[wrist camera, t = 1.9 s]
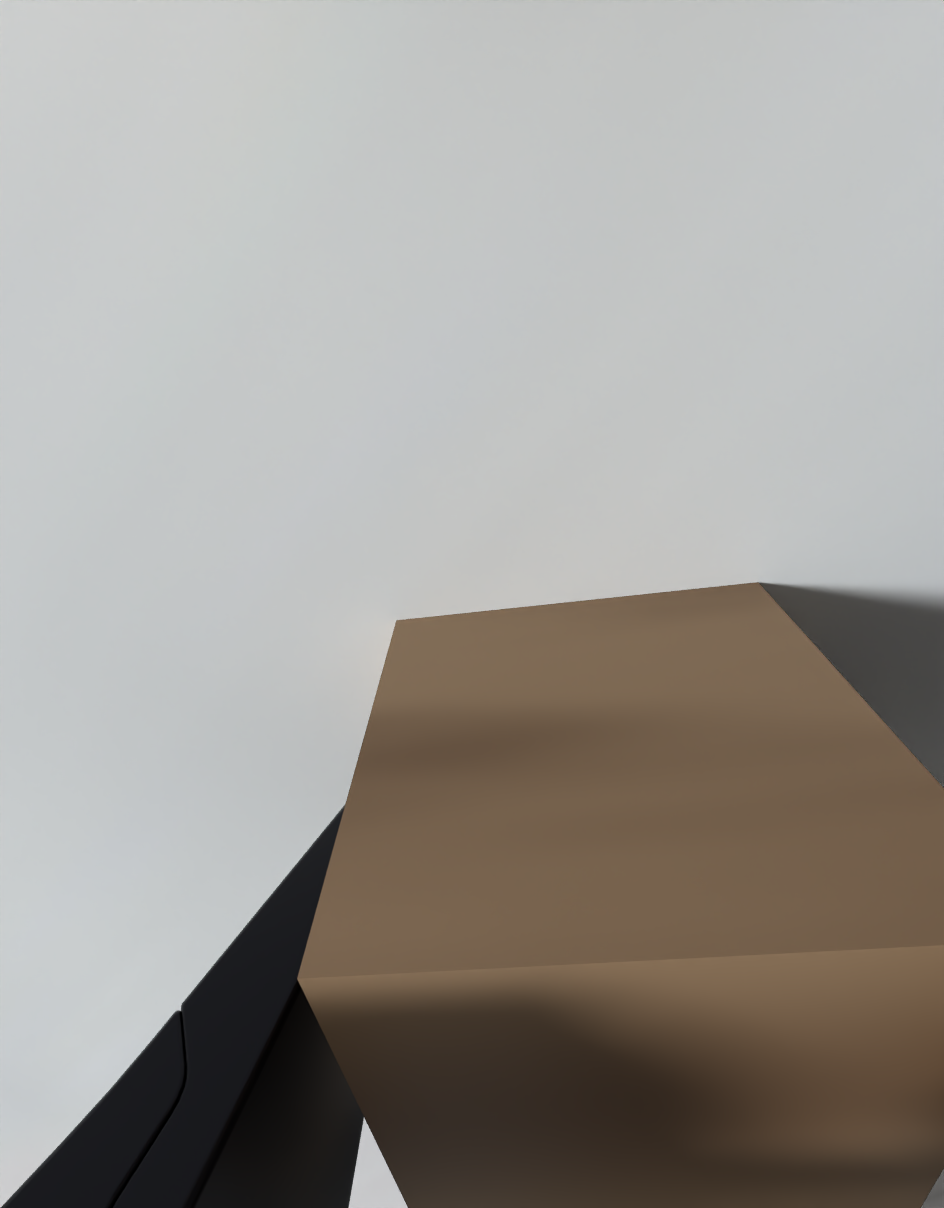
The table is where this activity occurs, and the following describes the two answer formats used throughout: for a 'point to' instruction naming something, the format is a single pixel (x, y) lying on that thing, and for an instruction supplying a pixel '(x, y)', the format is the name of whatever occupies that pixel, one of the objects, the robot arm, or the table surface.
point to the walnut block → (636, 916)
